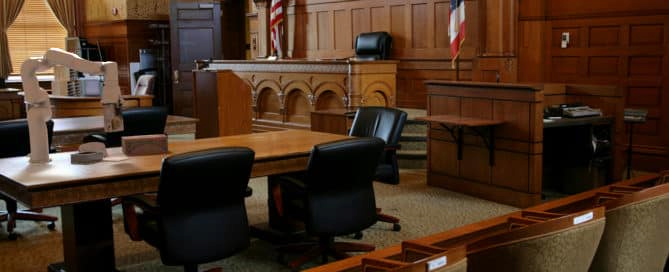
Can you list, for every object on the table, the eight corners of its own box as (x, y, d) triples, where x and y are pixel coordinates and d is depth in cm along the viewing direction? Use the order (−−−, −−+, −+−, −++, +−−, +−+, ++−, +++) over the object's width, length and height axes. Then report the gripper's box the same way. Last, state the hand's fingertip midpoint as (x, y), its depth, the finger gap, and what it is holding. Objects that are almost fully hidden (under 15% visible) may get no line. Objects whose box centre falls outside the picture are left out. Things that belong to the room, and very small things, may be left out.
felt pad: (100, 160, 404) (100, 159, 404) (113, 157, 415) (113, 156, 415) (117, 161, 400) (117, 160, 400) (130, 158, 411) (130, 157, 411)
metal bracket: (70, 163, 398) (70, 154, 397) (87, 159, 411) (86, 151, 410) (86, 163, 394) (86, 154, 393) (103, 160, 407) (102, 151, 406)
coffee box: (116, 130, 411) (114, 102, 409) (124, 130, 408) (122, 102, 406) (104, 131, 403) (102, 103, 401) (111, 132, 400) (110, 103, 398)
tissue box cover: (163, 149, 450) (163, 134, 449) (168, 152, 437) (167, 136, 436) (122, 152, 439) (121, 137, 438) (125, 155, 426) (124, 139, 425)
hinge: (81, 159, 413) (78, 142, 414) (79, 161, 417) (75, 144, 418) (109, 156, 424) (106, 140, 425) (106, 157, 427) (103, 142, 429)
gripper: (94, 83, 402) (96, 114, 404) (120, 83, 396) (121, 115, 398) (103, 83, 409) (104, 113, 411) (128, 83, 403) (129, 114, 405)
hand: (113, 114), depth 404 cm, fingers closed on coffee box, 7 cm apart
